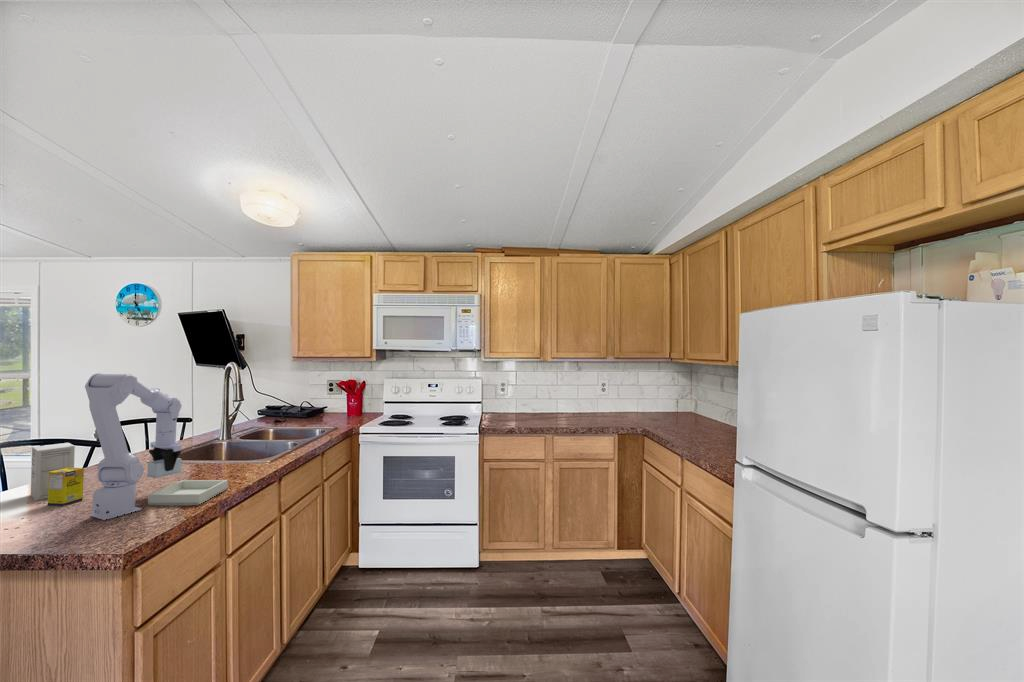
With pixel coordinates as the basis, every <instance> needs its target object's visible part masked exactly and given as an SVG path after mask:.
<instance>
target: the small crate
mask: <svg viewBox="0 0 1024 682" xmlns="http://www.w3.org/2000/svg"><path fill="white" fill-rule="evenodd" d="M182 462H183V461H182V458H179V457H178V458H177V460H176V463H175V466H174V469H173V470H171V471H165V464H164V459H162V460H157V461H154V460H153V461H152V460H151V461H148V462H147V471H146V472H147V474H146V475H147V477H148V478H153V479H159V478H164V477H167V476H173V475H177V474H181V473H182Z"/></svg>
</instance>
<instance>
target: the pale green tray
mask: <svg viewBox="0 0 1024 682" xmlns="http://www.w3.org/2000/svg"><path fill="white" fill-rule="evenodd" d="M228 485H229V482H228V479H191V480H190V479H184V480H183V479H182V480H179V481H178V482H177V481H176V482H175V483H173V484H170V485H168V486H165V487H164V488H161V489H159V490H156V491H154V492H152V493H149V494H148V496H147V497H148V498H147V506H148V505H155V506H200V505H202V504H204V503H205V501H206V502H208V501H209V500H211V499H213V498H215V497H217V496H218V495H220V494H222V493H224V492H225V490H226V491H227V489H228ZM223 491H224V492H223ZM221 492H222V493H221ZM219 493H220V494H219ZM217 494H218V495H217ZM216 495H217V496H216ZM214 496H215V497H214ZM212 497H213V498H212ZM210 498H211V499H210ZM203 502H204V503H203ZM201 503H202V504H201ZM199 504H200V505H199Z"/></svg>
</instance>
